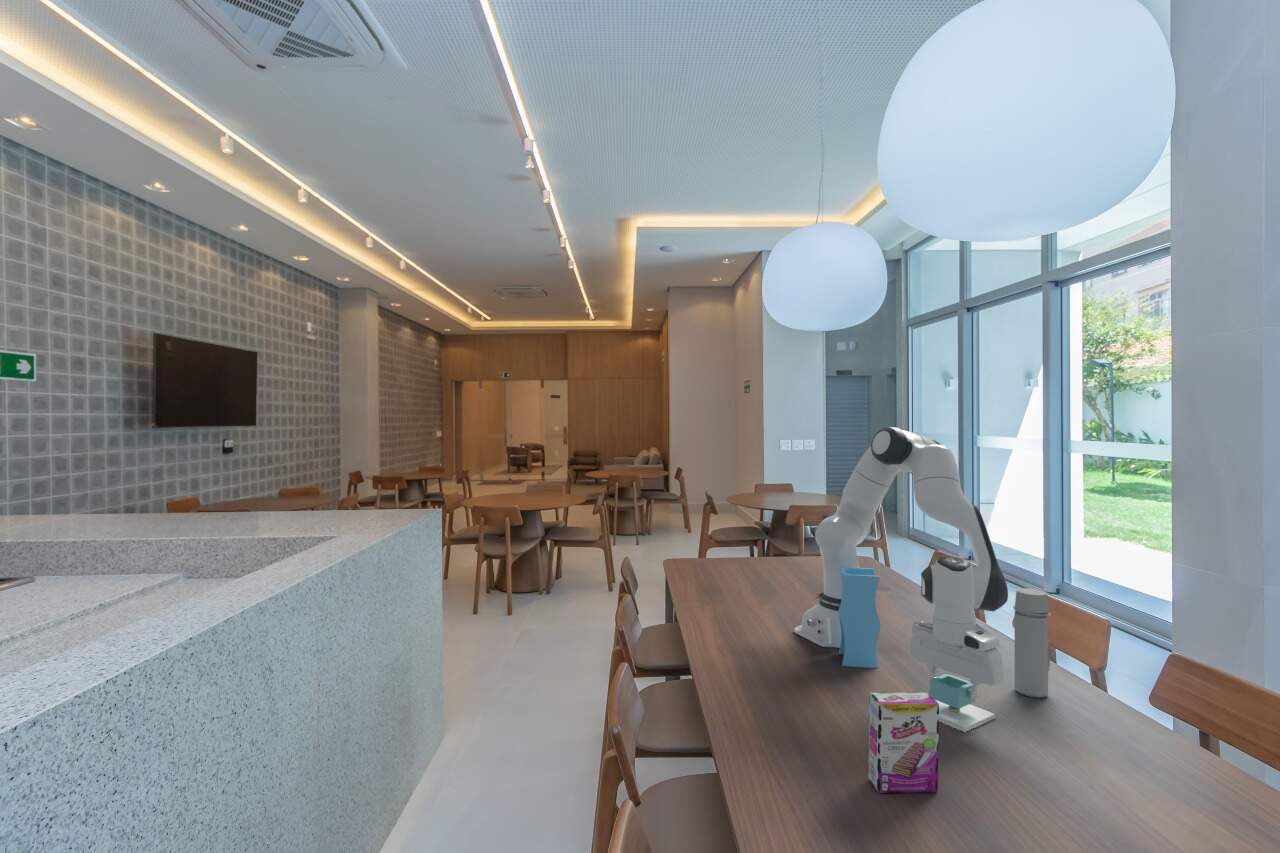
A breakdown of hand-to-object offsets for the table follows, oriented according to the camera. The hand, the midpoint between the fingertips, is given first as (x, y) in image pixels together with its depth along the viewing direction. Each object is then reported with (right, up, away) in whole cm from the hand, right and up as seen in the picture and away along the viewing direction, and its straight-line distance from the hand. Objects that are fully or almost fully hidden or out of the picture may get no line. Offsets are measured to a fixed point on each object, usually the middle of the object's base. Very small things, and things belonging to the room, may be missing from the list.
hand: (953, 690), depth 141 cm
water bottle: (+26, -6, +12) cm, 29 cm away
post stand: (0, -5, 0) cm, 5 cm away
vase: (-10, -6, +33) cm, 35 cm away
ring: (-1, -2, 0) cm, 2 cm away
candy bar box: (-24, -6, -28) cm, 37 cm away
